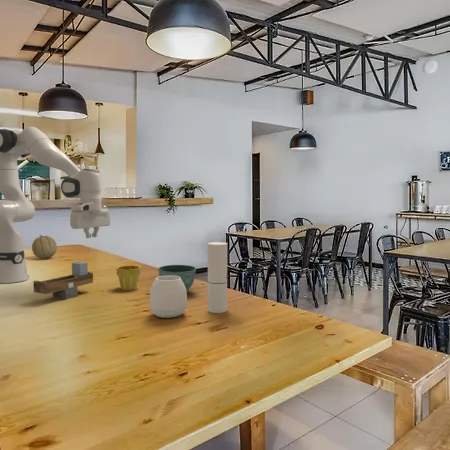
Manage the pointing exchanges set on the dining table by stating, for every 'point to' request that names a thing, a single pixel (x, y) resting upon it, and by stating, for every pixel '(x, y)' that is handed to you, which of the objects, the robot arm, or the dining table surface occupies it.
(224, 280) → the cylindrical container
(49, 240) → the cantaloupe
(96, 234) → the robot arm
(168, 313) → the white vase
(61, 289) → the beam
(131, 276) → the plant pot
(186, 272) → the flower pot
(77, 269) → the block
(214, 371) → the dining table surface
